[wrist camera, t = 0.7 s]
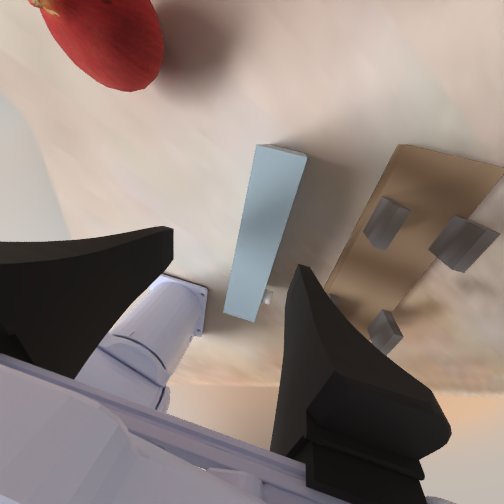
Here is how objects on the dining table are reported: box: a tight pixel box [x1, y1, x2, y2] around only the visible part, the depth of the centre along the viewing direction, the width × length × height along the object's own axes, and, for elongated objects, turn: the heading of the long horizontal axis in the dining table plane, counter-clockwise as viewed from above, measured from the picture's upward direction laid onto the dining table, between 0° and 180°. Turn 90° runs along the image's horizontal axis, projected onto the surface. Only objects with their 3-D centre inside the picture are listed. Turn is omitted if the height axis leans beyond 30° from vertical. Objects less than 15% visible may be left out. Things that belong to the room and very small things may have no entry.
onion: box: [28, 0, 164, 92], centre depth 12 cm, size 6×6×8 cm
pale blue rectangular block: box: [223, 144, 308, 322], centre depth 17 cm, size 14×4×6 cm, turn 168°
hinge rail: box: [324, 145, 504, 355], centre depth 18 cm, size 20×6×4 cm, turn 168°
